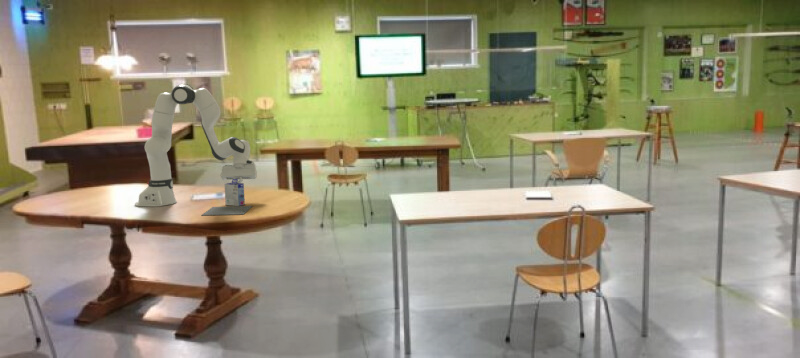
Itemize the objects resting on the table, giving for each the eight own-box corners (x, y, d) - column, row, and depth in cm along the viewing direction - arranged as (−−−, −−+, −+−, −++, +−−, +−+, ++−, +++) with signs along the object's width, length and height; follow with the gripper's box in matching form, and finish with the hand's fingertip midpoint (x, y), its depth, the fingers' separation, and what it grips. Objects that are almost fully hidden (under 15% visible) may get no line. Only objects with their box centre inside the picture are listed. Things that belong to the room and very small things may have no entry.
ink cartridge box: (245, 204, 360) (243, 179, 357) (239, 206, 355) (237, 180, 353) (231, 203, 364) (229, 178, 362) (225, 205, 359) (223, 179, 357)
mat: (201, 215, 334) (201, 214, 334) (212, 207, 354) (212, 206, 354) (243, 214, 334) (243, 213, 334) (252, 206, 354) (252, 205, 353)
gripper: (221, 162, 370) (217, 181, 362) (256, 161, 370) (253, 181, 362) (223, 168, 375) (220, 188, 367) (258, 167, 375) (255, 187, 367)
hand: (237, 184), depth 364 cm, fingers closed
